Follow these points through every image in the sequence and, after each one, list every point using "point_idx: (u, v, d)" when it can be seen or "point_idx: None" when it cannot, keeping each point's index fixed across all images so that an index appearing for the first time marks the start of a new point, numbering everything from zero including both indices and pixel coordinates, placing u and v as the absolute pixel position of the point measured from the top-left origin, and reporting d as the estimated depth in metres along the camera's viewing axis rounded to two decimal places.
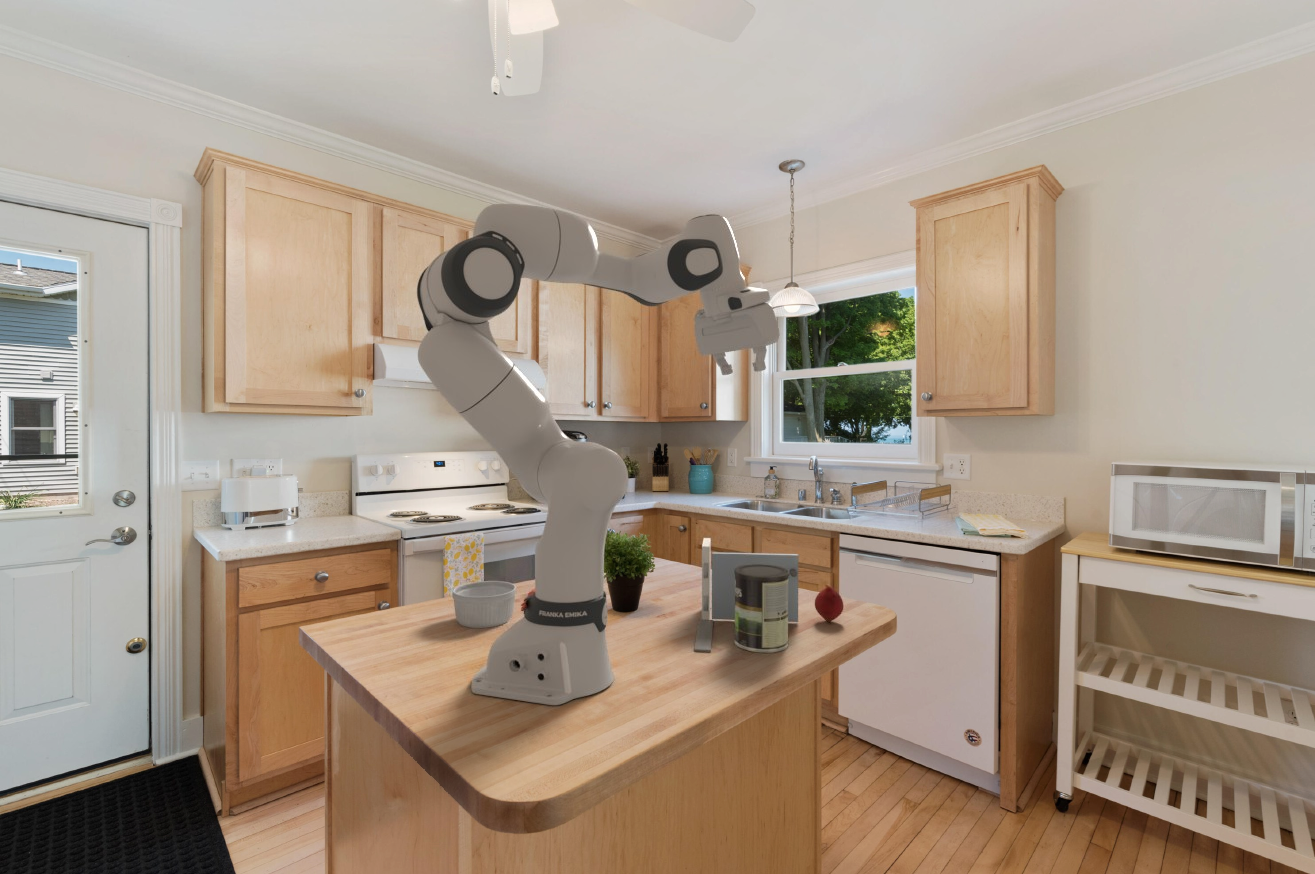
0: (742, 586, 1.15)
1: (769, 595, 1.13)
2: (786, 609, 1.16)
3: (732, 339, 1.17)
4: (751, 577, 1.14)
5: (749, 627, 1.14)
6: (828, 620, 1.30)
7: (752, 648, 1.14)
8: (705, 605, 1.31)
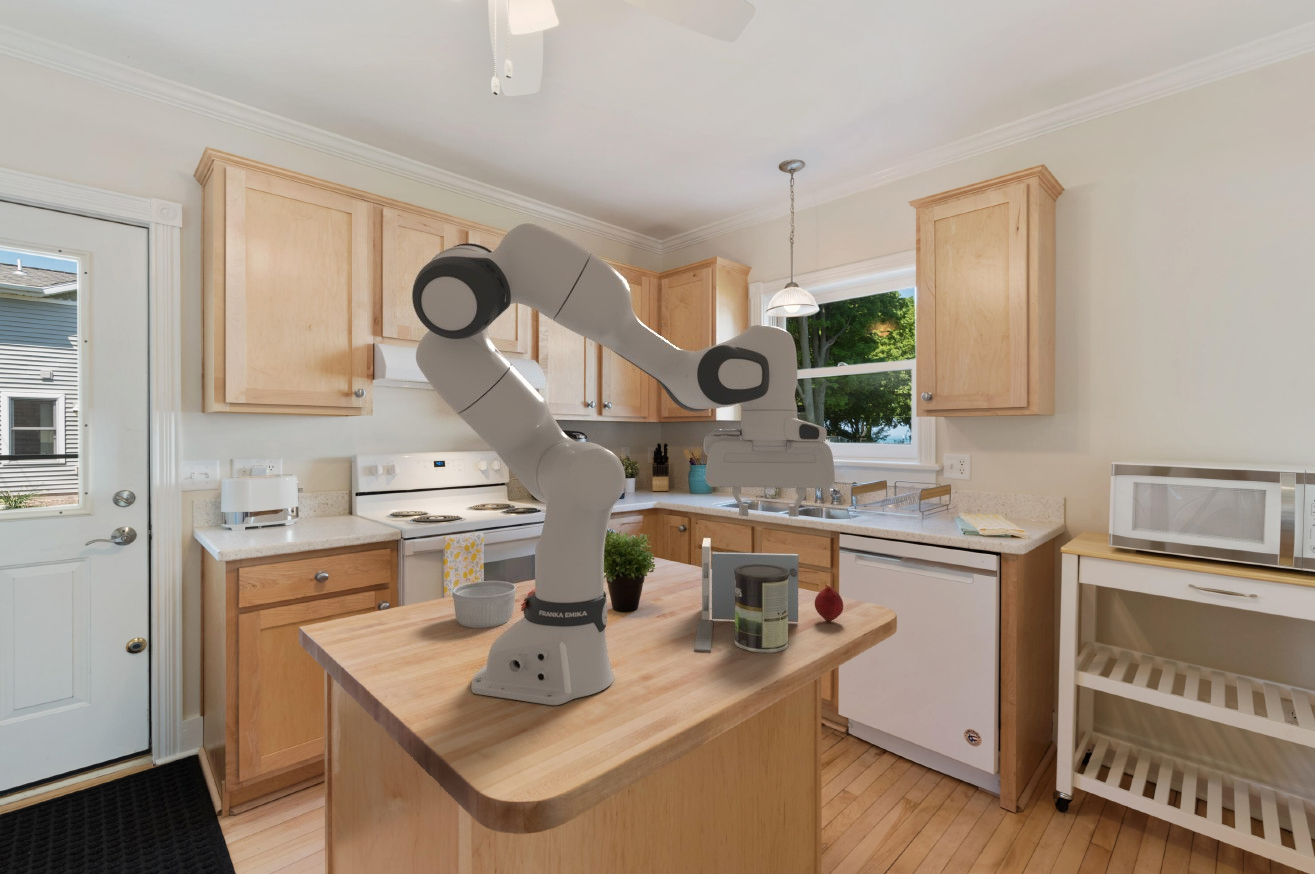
0: (742, 586, 1.15)
1: (769, 596, 1.13)
2: (786, 609, 1.16)
3: (777, 473, 0.97)
4: (751, 577, 1.14)
5: (749, 627, 1.14)
6: (828, 620, 1.30)
7: (752, 648, 1.14)
8: (705, 605, 1.31)
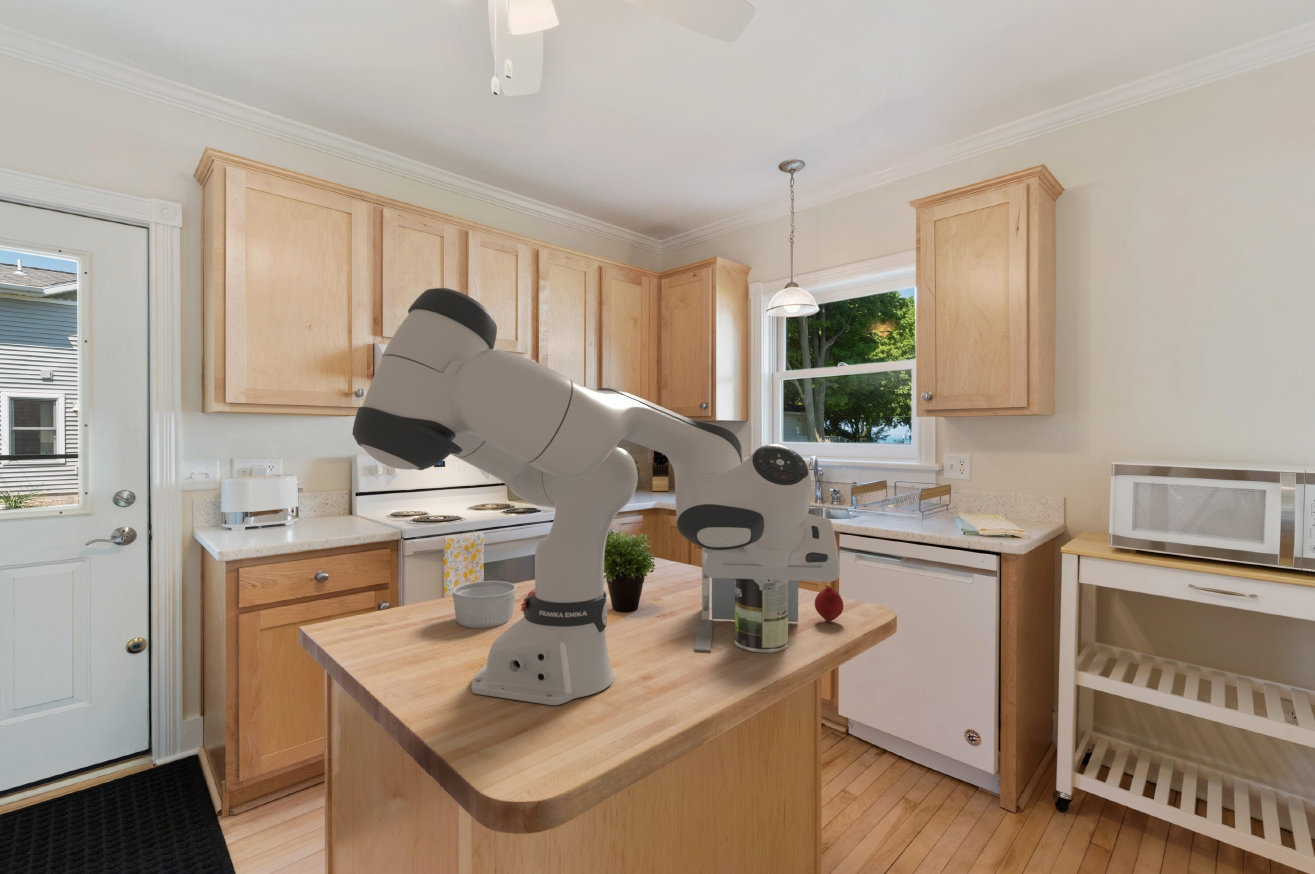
0: (742, 586, 1.15)
1: (769, 596, 1.13)
2: (786, 609, 1.16)
3: (779, 572, 0.93)
4: None
5: (749, 627, 1.14)
6: (828, 620, 1.30)
7: (752, 648, 1.14)
8: (705, 605, 1.31)
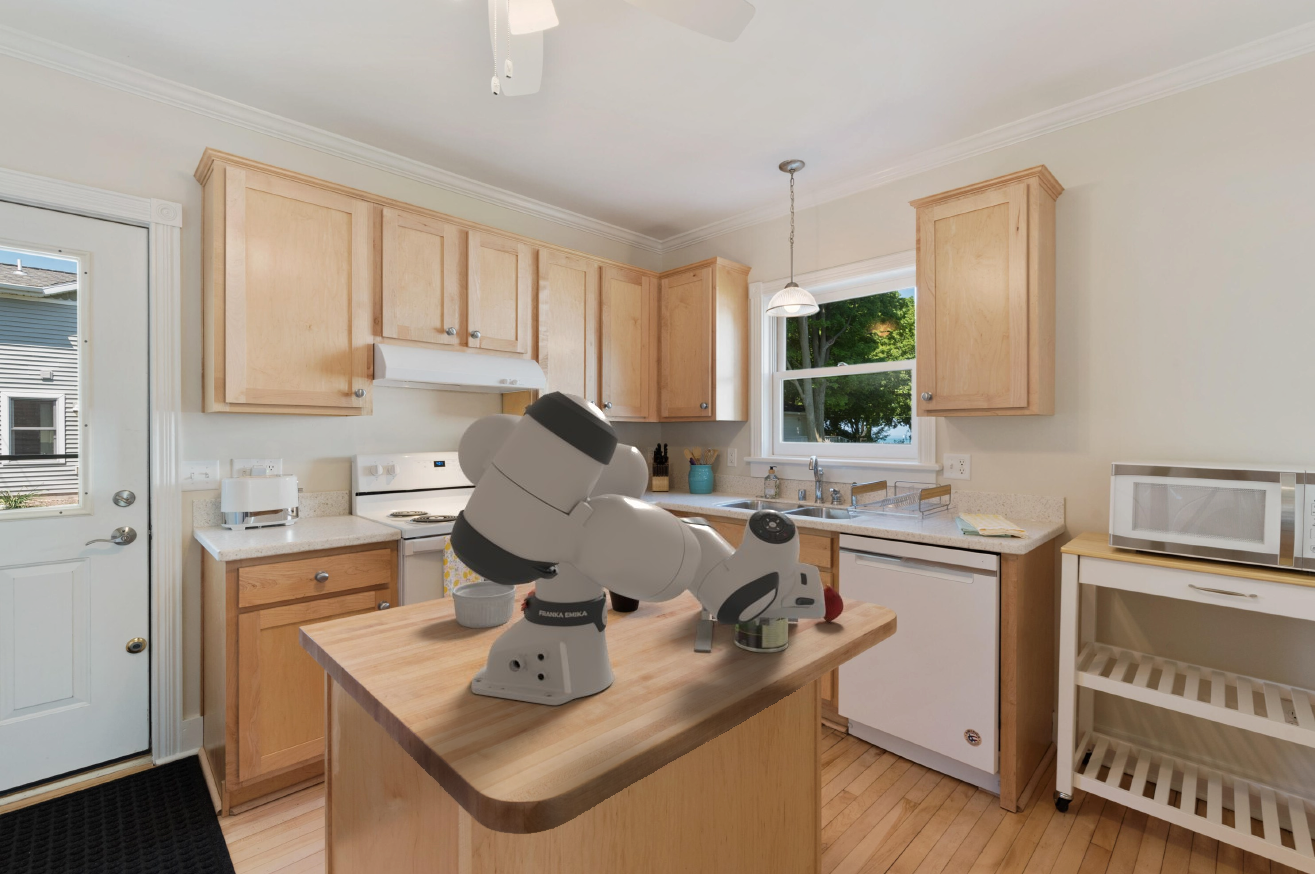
0: None
1: None
2: None
3: (773, 612, 1.06)
4: None
5: (749, 627, 1.14)
6: (828, 620, 1.30)
7: (752, 648, 1.14)
8: None
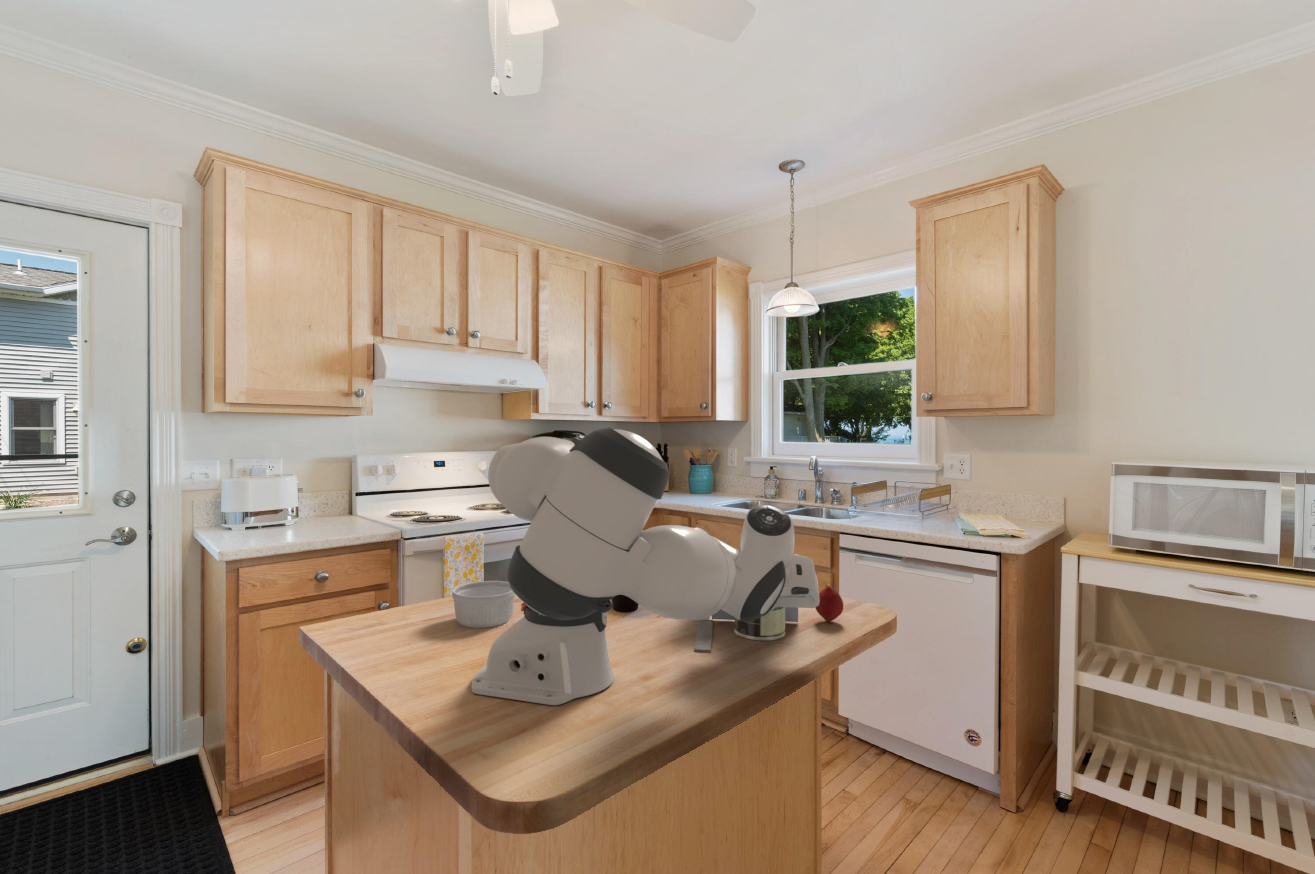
0: None
1: None
2: None
3: None
4: None
5: None
6: (828, 620, 1.30)
7: (751, 636, 1.20)
8: None
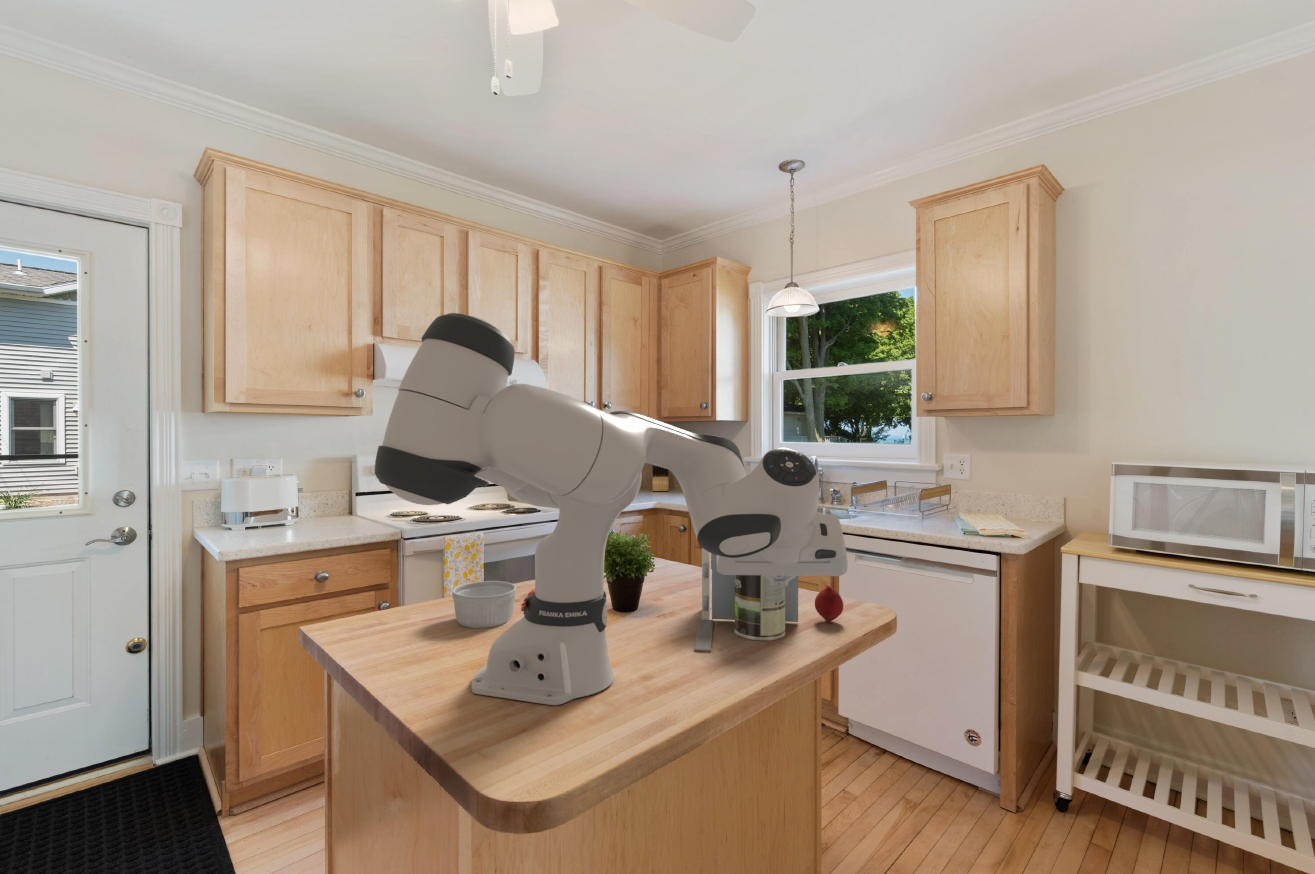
0: (741, 577, 1.22)
1: (767, 586, 1.20)
2: (783, 599, 1.22)
3: (789, 569, 0.96)
4: None
5: (748, 616, 1.21)
6: (828, 620, 1.30)
7: (751, 636, 1.20)
8: (705, 605, 1.31)
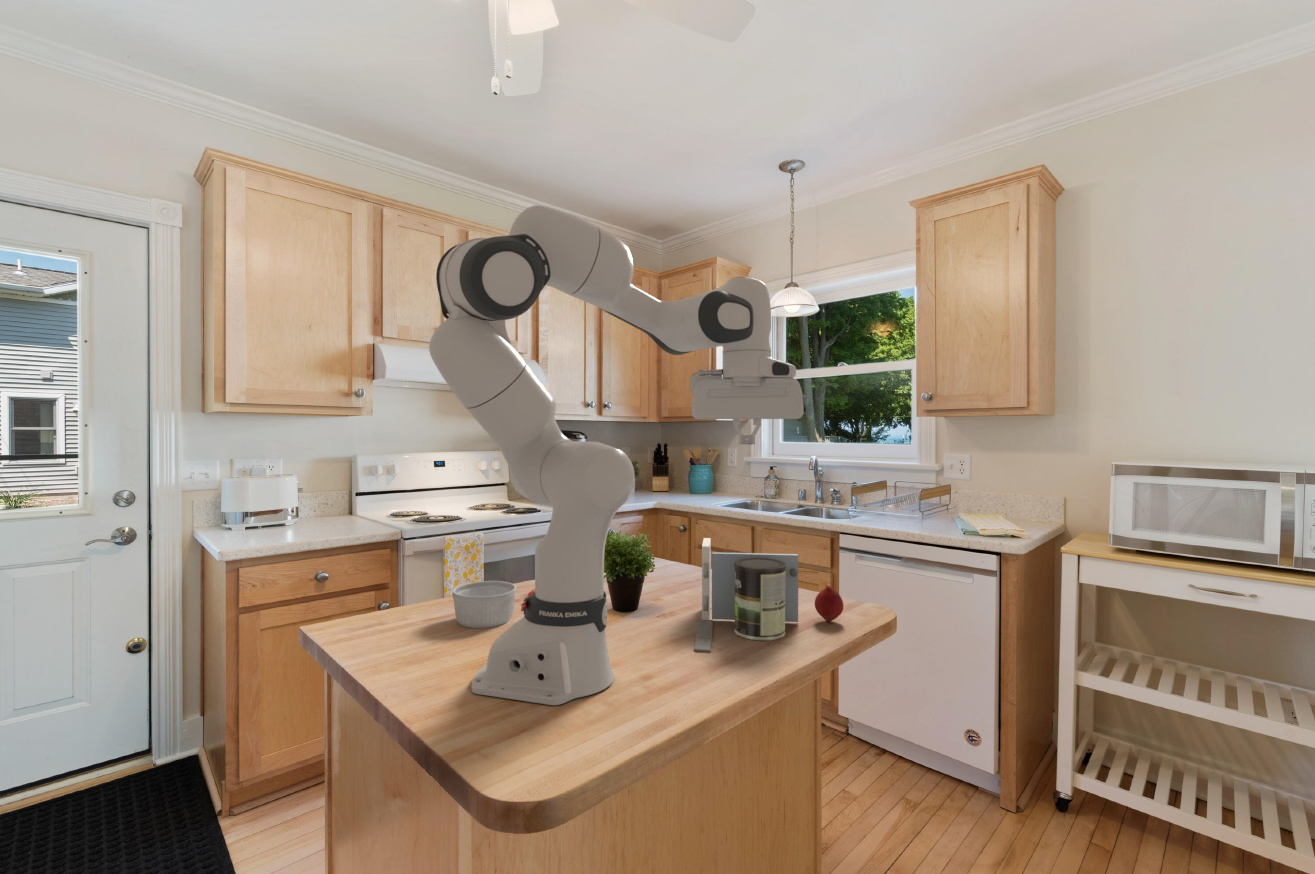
0: (741, 577, 1.22)
1: (767, 586, 1.20)
2: (783, 599, 1.22)
3: (754, 406, 1.12)
4: (750, 569, 1.20)
5: (748, 616, 1.21)
6: (828, 620, 1.30)
7: (751, 636, 1.20)
8: (705, 605, 1.31)
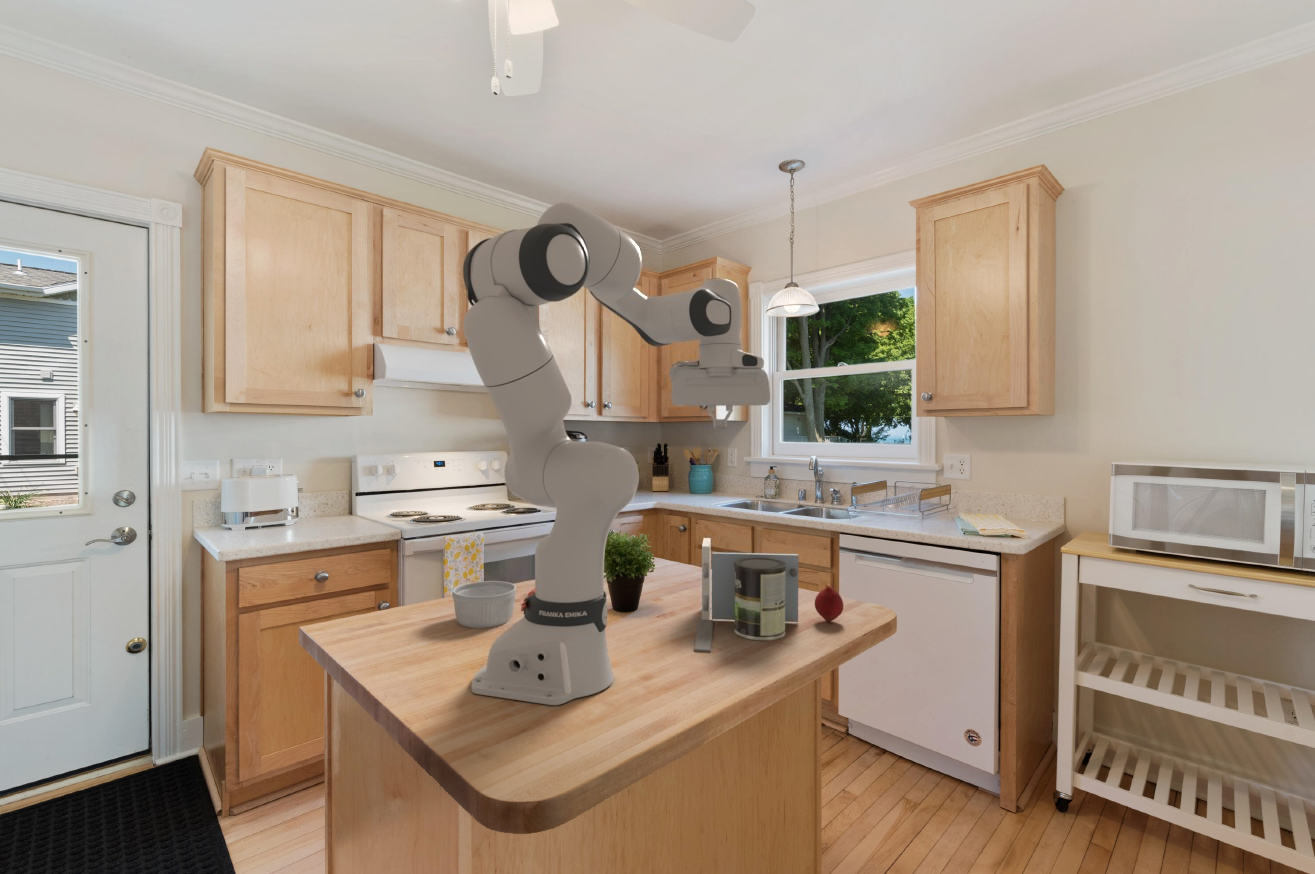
0: (741, 577, 1.22)
1: (767, 586, 1.20)
2: (783, 599, 1.22)
3: (726, 393, 1.25)
4: (750, 569, 1.20)
5: (748, 616, 1.21)
6: (828, 620, 1.30)
7: (751, 636, 1.20)
8: (705, 605, 1.31)
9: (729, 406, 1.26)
